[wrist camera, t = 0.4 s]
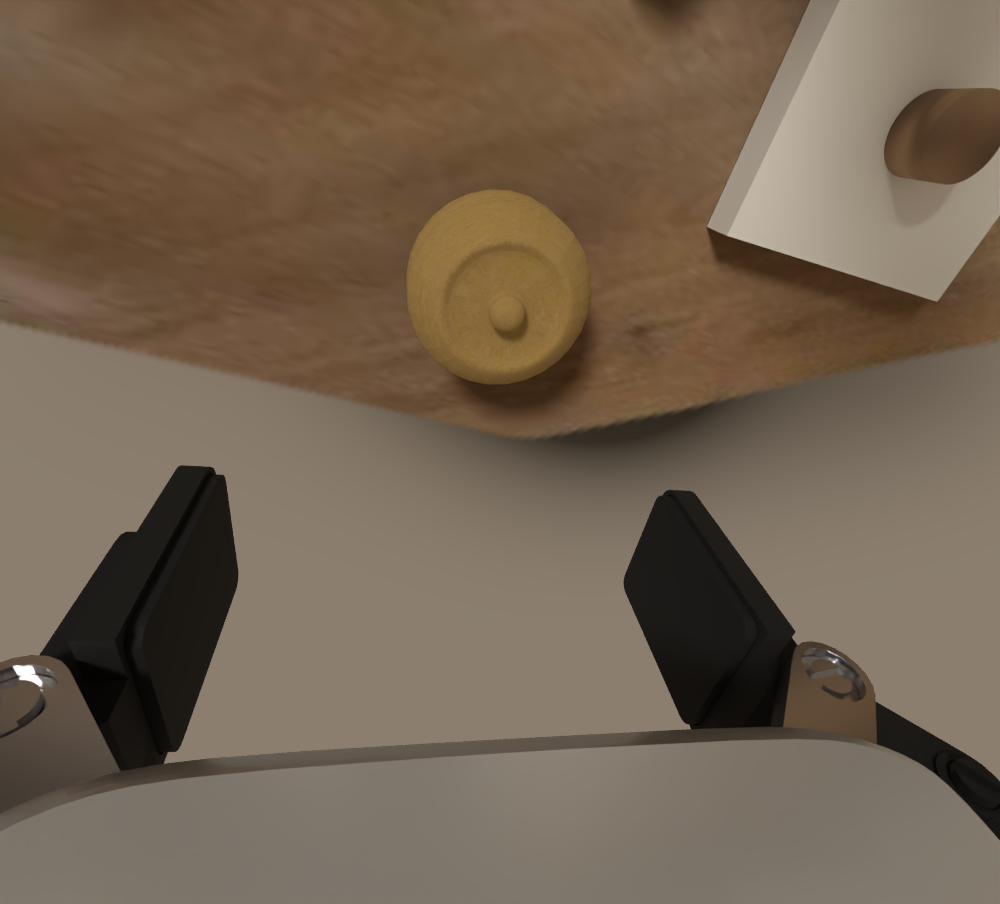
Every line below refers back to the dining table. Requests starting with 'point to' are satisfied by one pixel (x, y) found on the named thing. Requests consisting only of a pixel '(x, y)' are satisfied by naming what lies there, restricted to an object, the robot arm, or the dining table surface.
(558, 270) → the pot
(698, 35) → the dining table surface
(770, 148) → the plate
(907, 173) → the brown wooden cylinder
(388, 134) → the dining table surface
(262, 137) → the dining table surface
